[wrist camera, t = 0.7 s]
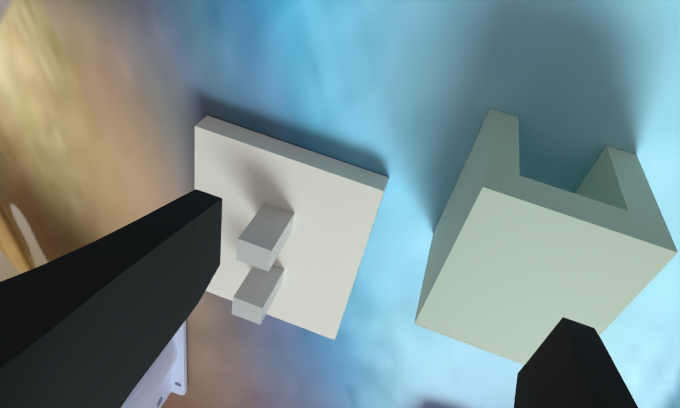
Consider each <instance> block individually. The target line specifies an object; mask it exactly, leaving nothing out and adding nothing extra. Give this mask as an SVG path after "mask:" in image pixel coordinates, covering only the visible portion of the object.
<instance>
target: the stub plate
mask: <svg viewBox="0 0 680 408" xmlns="http://www.w3.org/2000/svg"><path fill="white" fill-rule="evenodd" d="M388 180H389V177H386V176H383V175H380V174H377V173H374V172H371V171H368V170H365V169H363V168H360V167H357V166H354V165H351V164H348V163H345V162H342V161H339V160H336V159H333V158H330V157H327V156H324V155H322V154H319V153H316V152H313V151H310V150H307V149H304V148H301V147H298V146H295V145H292V144H289V143H286V142H283V141H280V140H278V139H275V138H272V137H269V136H266V135H263V134H260V133H257V132H254V131H251V130H248V129H245V128H242V127H239V126H237V125H234V124H231V123H228V122H225V121H222V120H219V119H216V118H213V117H210V116H206V117H205V118H204V119H203V120H201V121H200V122H199V123H198V124H197V125H195V190H196V189H197V190H200V191H203V192H206V193H209V194H212V195H215V196H217V197H220V198H222V226H221V255H220V266H219V267H218V269H217V271H216V273H215V275H214V276H213V278H212V280H211V282H210V284H209V285H208V287H207V289H206V290H205V291H208V292H210V293H213V294H216V295H218V296H221V297H223V298H226V299H229V300H231V301H233V305H232V314H234V315H236V316H239V317H241V318H244V319H246V320H249V321H252V322H254V323H257V324H259V325H260V324H261V323H262V321H263V319H264V317H265V315H266V314H268V315H270V316H273V317H276V318H278V319H281V320H283V321H286V322H289V323H291V324H294V325H296V326H299V327H302V328H304V329H307V330H309V331H312V332H315V333H317V334H320V335H322V336H325V337H328V338H330V339H333V340H335V338H336V335H337V332H338V329H339V327H340V324H341V321H342V318H343V315H344V312H345V309H346V306H347V303H348V300H349V297H350V294H351V291H352V288H353V285H354V282H355V279H356V276H357V273H358V270H359V267H360V264H361V261H362V258H363V255H364V252H365V249H366V246H367V243H368V240H369V237H370V234H371V231H372V228H373V225H374V222H375V219H376V216H377V213H378V210H379V207H380V204H381V201H382V198H383V195H384V192H385V189H386V186H387V183H388Z"/></svg>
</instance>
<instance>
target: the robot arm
mask: <svg viewBox="0 0 680 408" xmlns="http://www.w3.org/2000/svg"><path fill="white" fill-rule="evenodd" d="M221 226H222V198H220V197H217V196H215V195H212V194H209V193H206V192H203V191H200V190H197V189H196V190H194V191H192V192H190V193H188V194H186V195H184V196H182V197H180V198H178V199H176V200H174V201H172V202H170V203H168V204H166V205H165V206H163V207H161V208H159V209H157V210H155V211H153V212H151V213H149V214H148V215H146V216H144V217H142V218H140V219H138V220H136V221H134V222H132V223H130V224H128V225H126V226H124V227H122V228H120V229H118V230H116V231H114V232H112V233H110V234H108V235H106V236H104V237H102V238H100V239H98V240H96V241H94V242H92V243H90V244H88V245H86V246H84V247H81V248H79V249H77V250H75V251H73V252H70V253H68V254H66V255H64V256H62V257H59V258H57V259H55V260H53V261H51V262H48V263H46V264H44V265H42V266H39V267H37V268H34V269H32V270H30V271H27V272H25V273H22V274H20V275H17V276H15V277H12V278H9V279H7V280H4V281H1V282H0V408H161V406H162V405H163V403H164V402H165V400H166V399H167V397H168V395H169V394H170V392H173V393H176V394H178V395H184V394H185V393H186V391H187V355H186V319H187V318H188V316H189V315H190V314H191V312H192V311H193V309H194V308H195V307H196V305H197V304H198V302H199V301H200V299H201V297H202V296H203V294H204V292H205V290H206V289H207V287H208V285H209V284H210V282H211V280H212V278H213V276H214V275H215V273H216V271H217V269H218V267H219V266H220V255H221ZM514 408H638V407H637V405H636V403H635V401H634V399H633V397H632V396H631V394H630V392H629V390H628V388H627V386H626V385H625V383H624V381H623V379H622V377H621V375H620V374H619V372H618V370H617V368H616V366H615V364H614V362H613V360H612V359H611V357H610V355H609V353H608V351H607V349H606V348H605V346H604V344H603V342H602V340H601V338H600V337H599V335H598V333H597V331H596V330H595V328H593V327H590V326H587V325H584V324H581V323H579V322H576V321H573V320H570V319H567V318H564V317H562V319H561V320H560V321H559V322H558V324H557V325H556V326H555V328H554V329H553V330H552V331H551V333H550V334H549V335H548V336H547V338H546V339H545V340H544V341H543V343H542V344H541V345H540V346H539V348H538V349H537V350H536V351H535V353H534V354H533V355H532V356H531V358H530V359H529V360H528V361H527V363H526V364H525V365H524V366H523V368H522V369H521V370H520V371H519V373H518V377H517V385H516V394H515V402H514Z"/></svg>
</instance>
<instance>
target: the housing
mask: <svg viewBox="0 0 680 408" xmlns="http://www.w3.org/2000/svg"><path fill="white" fill-rule="evenodd" d="M677 253H678V252H677V249H676V247H675V245H674V242H673V240H672V238H671V235H670V233H669V231H668V228H667V226H666V223H665V221H664V219H663V216H662V214H661V212H660V209H659V207H658V205H657V202H656V200H655V197H654V195H653V193H652V190H651V188H650V186H649V183H648V181H647V179H646V176H645V174H644V171H643V169H642V167H641V164H640V162H639V160H638V157H637V155H635V154H632V153H629V152H626V151H623V150H619V149H616V148H613V147H610V146H607V145H606V147H605V148H604V150H603V151H602V153H601V154H600V156H599V157H598V159H597V160H596V162H595V163H594V165H593V166H592V168H591V169H590V171H589V172H588V174H587V175H586V177H585V178H584V180H583V181H582V183H581V184H580V186H579V187H578V189H577V190H576V192H575V193H572V192H569V191H566V190H563V189H560V188H557V187H554V186H551V185H548V184H544V183H541V182H538V181H535V180H532V179H529V178H526V177H523V176H520V162H519V124H518V117H516V116H513V115H509V114H506V113H503V112H500V111H497V110H494V109H491V108H490V109H489V111H488V113H487V115H486V118H485V120H484V122H483V124H482V126H481V129H480V131H479V133H478V135H477V138H476V140H475V142H474V144H473V146H472V149H471V151H470V153H469V155H468V158H467V160H466V162H465V164H464V166H463V169H462V171H461V173H460V175H459V177H458V180H457V182H456V184H455V186H454V189H453V191H452V193H451V195H450V197H449V200H448V202H447V204H446V206H445V209H444V211H443V213H442V215H441V217H440V220H439V222H438V224H437V226H436V228H435V231H434V233H433V237H432V242H431V247H430V251H429V256H428V261H427V266H426V270H425V275H424V280H423V285H422V289H421V294H420V299H419V304H418V308H417V313H416V318H415V323H414V324H416V325H418V326H421V327H424V328H426V329H429V330H432V331H434V332H437V333H440V334H442V335H445V336H448V337H450V338H453V339H456V340H458V341H461V342H464V343H467V344H469V345H472V346H475V347H477V348H480V349H483V350H485V351H488V352H491V353H493V354H496V355H499V356H501V357H504V358H507V359H509V360H512V361H515V362H517V363H520V364H523V365H525V364H526V363H527V361H528V360H529V359H530V358H531V356H532V355H533V354H534V353H535V351H536V350H537V349H538V348H539V346H540V345H541V344H542V343H543V341H544V340H545V339H546V338H547V336H548V335H549V334H550V333H551V331H552V330H553V329H554V328H555V326H556V325H557V324H558V322H559V321H560V320H561V319H562V317H564V318H567V319H570V320H573V321H576V322H579V323H581V324H584V325H587V326H590V327H593V328H595V330H596V331H597V333H598V335H599V336H600V334H601V333H602V332H603V331H604V330H605V329H606V328H607V327H608V326H609V325H610V324H611V323H612V322H613V321H614V320H615V319H616V317H617V316H618V315H619V314H620V313H621V312H622V311H623V310H624V309H625V308H626V307H627V306H628V305H629V304H630V303H631V302H632V301H633V299H634V298H635V297H636V296H637V295H638V294H639V293H640V292H641V291H642V290H643V289H644V288H645V287H646V286H647V285H648V284H649V283H650V281H651V280H652V279H653V278H654V277H655V276H656V275H657V274H658V273H659V272H660V271H661V270H662V269H663V268H664V267H665V266H666V265H667V263H668V262H669V261H670V260H671V259H672V258H673V257H674V256H675V255H676V254H677Z"/></svg>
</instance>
